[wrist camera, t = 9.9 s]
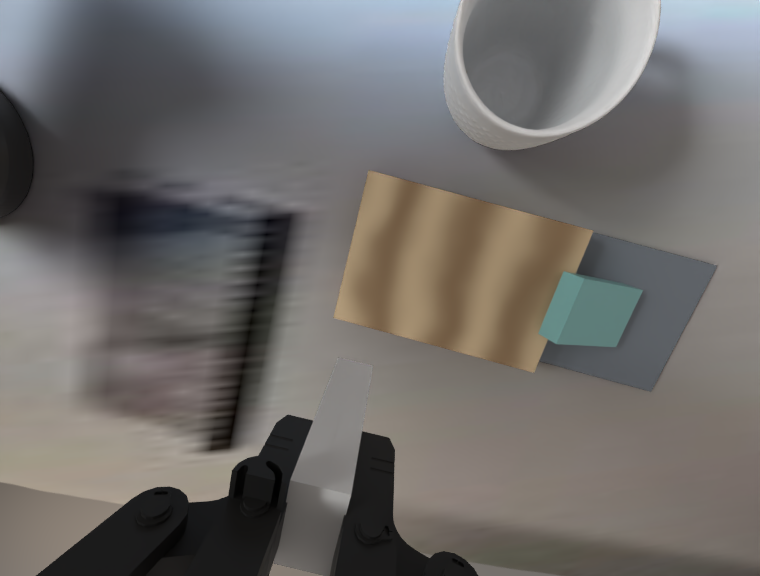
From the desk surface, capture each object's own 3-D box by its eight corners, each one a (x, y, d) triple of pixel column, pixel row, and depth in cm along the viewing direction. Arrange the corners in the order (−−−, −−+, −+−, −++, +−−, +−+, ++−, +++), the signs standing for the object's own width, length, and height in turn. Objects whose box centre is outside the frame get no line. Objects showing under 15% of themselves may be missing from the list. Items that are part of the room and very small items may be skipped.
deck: (340, 305, 38) (333, 317, 34) (373, 173, 34) (368, 170, 31) (521, 354, 38) (534, 372, 34) (572, 226, 34) (593, 230, 30)
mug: (566, -36, 29) (687, -214, 17) (624, 86, 31) (773, 10, 18) (412, 79, 32) (415, 2, 20) (474, 184, 34) (513, 176, 21)
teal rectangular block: (538, 333, 32) (556, 344, 30) (563, 271, 31) (584, 278, 29) (597, 337, 36) (615, 347, 35) (622, 283, 35) (643, 290, 33)
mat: (521, 354, 38) (522, 356, 37) (572, 226, 34) (574, 227, 34) (648, 389, 38) (650, 391, 37) (713, 265, 34) (717, 265, 34)
